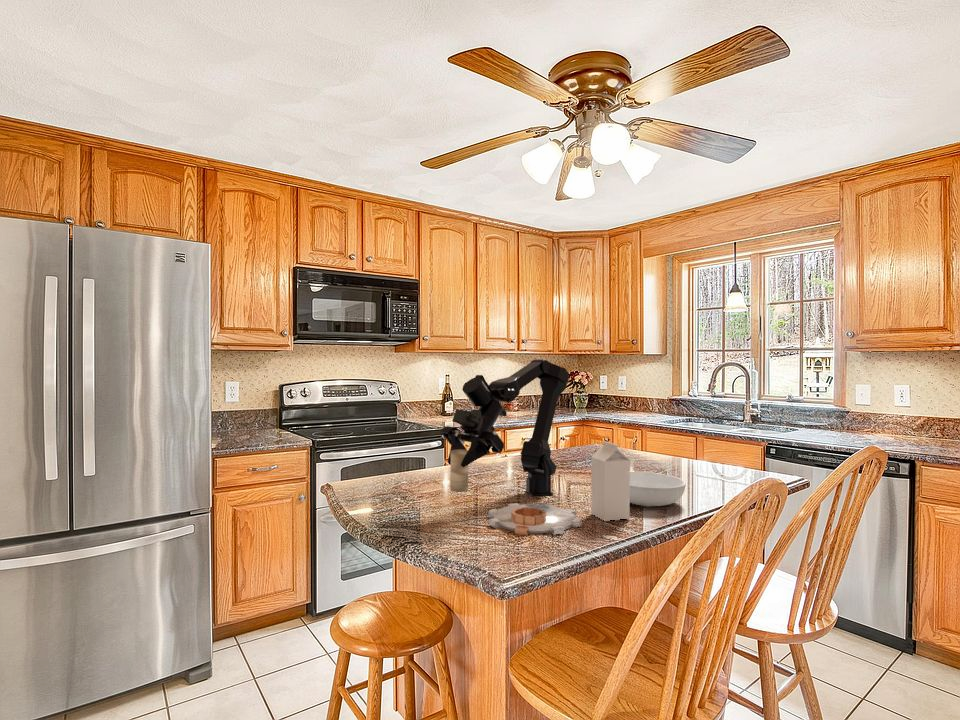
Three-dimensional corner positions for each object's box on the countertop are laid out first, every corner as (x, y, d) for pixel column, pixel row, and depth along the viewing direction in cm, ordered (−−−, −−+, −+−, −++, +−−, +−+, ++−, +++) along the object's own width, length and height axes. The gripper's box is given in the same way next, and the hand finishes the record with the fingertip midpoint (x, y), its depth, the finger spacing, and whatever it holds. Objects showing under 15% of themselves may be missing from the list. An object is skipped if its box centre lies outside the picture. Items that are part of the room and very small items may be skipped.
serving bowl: (658, 518, 139) (658, 491, 139) (592, 501, 155) (593, 477, 155) (700, 504, 152) (700, 480, 152) (635, 490, 168) (636, 468, 168)
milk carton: (604, 522, 135) (604, 445, 135) (590, 514, 142) (591, 441, 142) (629, 520, 137) (630, 444, 137) (615, 512, 144) (615, 440, 144)
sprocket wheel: (557, 505, 150) (557, 492, 150) (599, 531, 128) (599, 516, 128) (476, 511, 144) (476, 498, 144) (504, 540, 121) (504, 524, 121)
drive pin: (465, 487, 142) (465, 449, 142) (470, 491, 138) (470, 451, 138) (448, 488, 141) (448, 449, 141) (452, 492, 137) (452, 452, 137)
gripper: (446, 396, 149) (414, 441, 141) (496, 400, 136) (465, 449, 128) (466, 422, 155) (437, 467, 147) (516, 428, 142) (488, 477, 134)
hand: (455, 464), depth 139 cm, fingers closed on drive pin, 4 cm apart
